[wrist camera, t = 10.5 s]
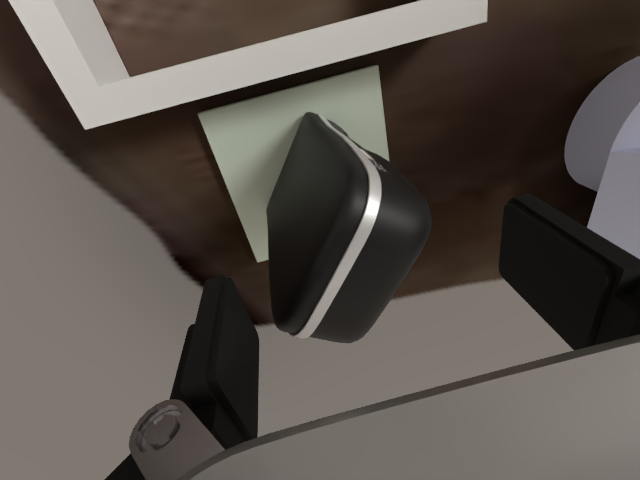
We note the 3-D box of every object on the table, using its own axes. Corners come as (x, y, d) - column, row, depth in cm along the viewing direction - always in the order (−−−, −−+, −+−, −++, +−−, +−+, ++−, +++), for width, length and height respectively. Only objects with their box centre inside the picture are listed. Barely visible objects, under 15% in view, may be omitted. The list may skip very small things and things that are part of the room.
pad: (374, 64, 19) (378, 65, 18) (393, 219, 24) (396, 223, 23) (199, 112, 18) (197, 114, 18) (257, 257, 24) (257, 262, 23)
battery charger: (317, 229, 23) (364, 372, 13) (262, 212, 21) (269, 355, 12) (365, 131, 20) (472, 217, 10) (306, 104, 18) (363, 172, 9)
